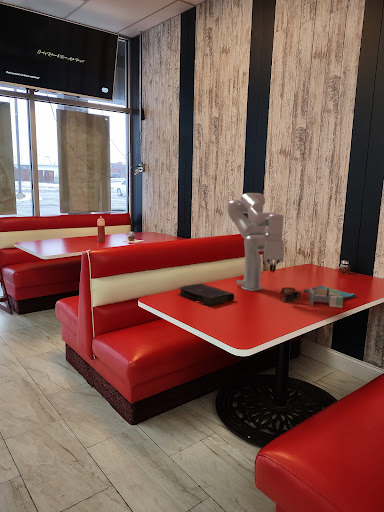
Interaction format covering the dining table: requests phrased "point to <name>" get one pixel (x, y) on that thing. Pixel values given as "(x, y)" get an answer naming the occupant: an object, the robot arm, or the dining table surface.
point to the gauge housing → (335, 300)
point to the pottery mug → (290, 294)
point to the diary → (205, 294)
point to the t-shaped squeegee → (318, 296)
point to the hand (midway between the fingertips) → (272, 271)
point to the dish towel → (323, 291)
